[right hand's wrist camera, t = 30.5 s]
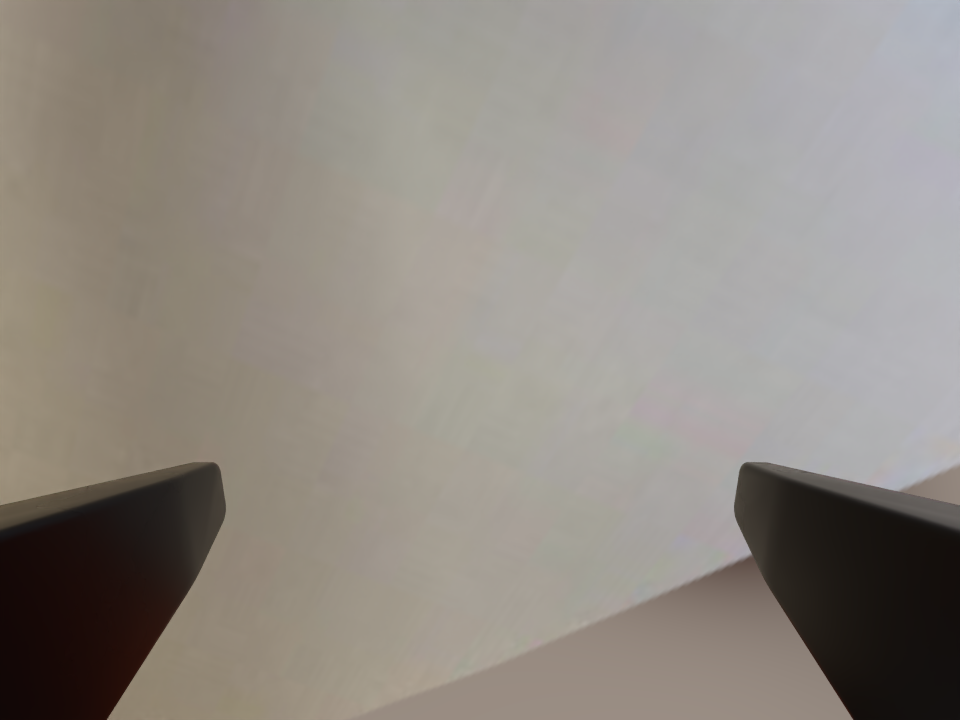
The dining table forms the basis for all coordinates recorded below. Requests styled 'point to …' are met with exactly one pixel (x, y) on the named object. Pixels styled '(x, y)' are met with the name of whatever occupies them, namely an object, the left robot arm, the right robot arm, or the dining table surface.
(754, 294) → the dining table surface
